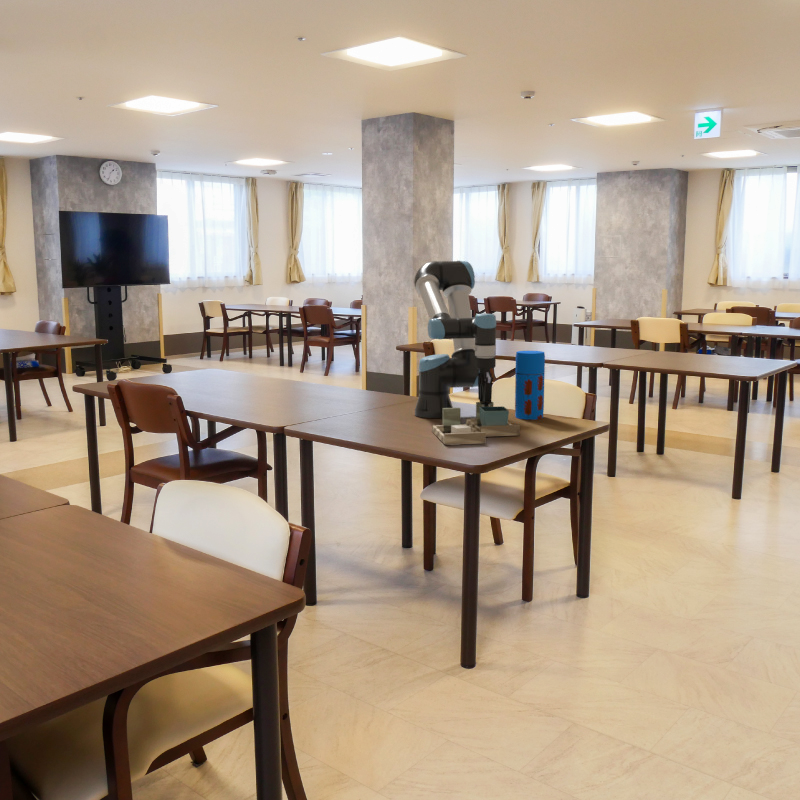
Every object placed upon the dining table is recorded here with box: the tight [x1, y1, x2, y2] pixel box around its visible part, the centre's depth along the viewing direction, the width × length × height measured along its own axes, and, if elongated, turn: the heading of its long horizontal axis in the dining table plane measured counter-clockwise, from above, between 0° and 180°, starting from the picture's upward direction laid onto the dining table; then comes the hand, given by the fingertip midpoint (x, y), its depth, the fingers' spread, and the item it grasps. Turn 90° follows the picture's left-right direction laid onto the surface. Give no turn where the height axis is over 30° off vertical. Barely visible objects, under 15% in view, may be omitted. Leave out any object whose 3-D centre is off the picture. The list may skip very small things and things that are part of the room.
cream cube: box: [450, 425, 471, 433], centre depth 277 cm, size 5×5×5 cm
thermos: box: [514, 350, 546, 421], centre depth 317 cm, size 11×11×25 cm
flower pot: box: [479, 405, 510, 426], centre depth 287 cm, size 9×9×9 cm
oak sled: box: [465, 401, 521, 438], centre depth 293 cm, size 23×14×8 cm, turn 8°
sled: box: [431, 407, 486, 446], centre depth 281 cm, size 23×14×8 cm, turn 8°
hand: (484, 420), depth 304 cm, fingers closed on oak sled, 2 cm apart
